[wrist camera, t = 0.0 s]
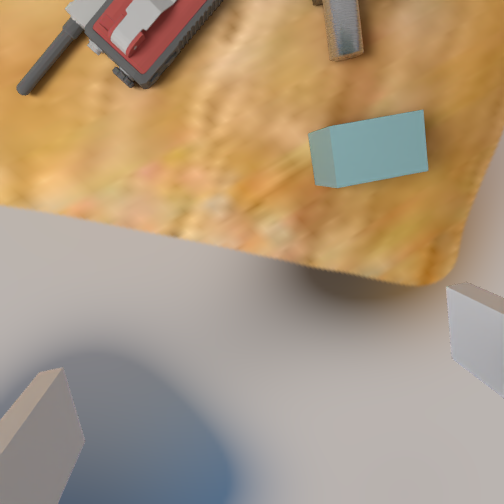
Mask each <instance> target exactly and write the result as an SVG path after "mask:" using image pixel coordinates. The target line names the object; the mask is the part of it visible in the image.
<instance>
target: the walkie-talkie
mask: <svg viewBox="0 0 504 504" xmlns="http://www.w3.org/2000/svg"><path fill="white" fill-rule="evenodd" d="M221 2H223V0H74V1H73V2H70V3H69V4H68V6H67V7H66V8H65V10H66V11H67V12H68V13H69V14H70V15H71V17H70V19H69V20H68V21H67V22H66V23H65V25H64V26H63V30H62V31H61V33H60V34H59V35H58V36H57V38H56V39H55V40H54V41H53V42H52V44H51V45H50V46H49V47H48V48H47V50H46V51H45V52H44V53H43V55H42V56H41V57H40V58H39V59H38V61H37V62H36V63H35V64H34V66H33V67H32V68H31V69H30V70H29V72H28V73H27V74H26V75H25V76H24V78H23V79H22V80H21V81H20V83H19V84H18V85H17V91H18V93H19V94H21V95H25V96H26V95H28V94H29V93H30V92H31V90H32V89H33V88H34V87H35V86H36V84H37V83H38V82H39V81H40V80H41V78H42V77H43V76H44V75H45V73H46V72H47V71H48V70H49V69H50V67H51V66H52V65H53V64H54V63H55V61H56V60H57V59H58V58H59V57H60V55H61V54H62V53H63V52H64V51H65V49H66V48H67V47H68V46H69V44H70V43H71V42H72V41H73V40H74V39H77V38H78V36H79V35H80V34H81V33H82V32H83V30H85V34H86V35H87V36H88V37H89V41H90V42H89V43H88V45H87V46H88V47H89V48H90V49H91V50H92V51H93V52H95V53H96V54H97V55H100V53H101V52H102V53H105V54H106V55H107V56H108V57H109V58H110V59H111V60H112V61H114V62H115V63H116V64H117V65H118V66H119V68H118V67H115V68H114V69H113V73H114V74H115V75H116V76H117V77H119V78H120V79H121V80H122V81H123V82H124V83H125V84H126V85H127V86H128V87H129V88H132V87H133V86H134V83H133V81H135V82H136V83H138V84H139V85H140V86H141V87H142V88H143V89H148V88H150V87H151V86H152V85H153V84H154V83H155V82H156V81H157V79H158V78H159V76H160V75H161V74H162V73H163V72H164V70H165V69H166V68H167V67H169V65H170V64H171V63H172V62H173V61H174V59H175V57H176V56H177V55H178V54H179V53H180V50H181V49H182V48H184V45H185V44H186V43H188V40H189V39H192V36H193V34H196V31H197V30H199V29H200V26H201V25H204V22H205V20H208V17H209V16H211V15H212V12H213V11H215V10H216V7H217V6H220V3H221Z"/></svg>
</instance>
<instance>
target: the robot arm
mask: <svg viewBox="0 0 504 504" xmlns="http://www.w3.org/2000/svg"><path fill="white" fill-rule="evenodd" d="M446 293H447V305H448V318H449V331H450V344H451V355H452V359H453V360H454V361H456V362H457V363H458V364H460V365H461V366H462V367H464V368H465V369H466V370H468V371H469V372H470V373H472V374H473V375H474V376H475V377H477V378H478V379H479V380H480V381H482V382H483V383H484V384H486V385H487V386H488V387H490V388H491V389H493V390H494V391H495V392H496V393H498V394H499V395H500V396H501V397H503V398H504V298H503V297H501V296H498V295H496V294H494V293H491V292H489V291H487V290H484V289H482V288H480V287H477V286H475V285H473V284H470V283H468V282H464V283H460V284H455V285H450V286H446ZM84 443H85V438H84V435H83V432H82V428H81V425H80V422H79V418H78V415H77V412H76V408H75V405H74V402H73V398H72V395H71V392H70V389H69V385H68V382H67V379H66V375H65V372H64V368H63V367H62V368H57V369H52V370H48V371H43V372H39V373H38V374H37V376H36V377H35V378H34V379H33V380H32V382H31V383H30V384H29V385H28V387H27V388H26V389H25V390H24V391H23V393H22V394H21V395H20V396H19V398H18V399H17V400H16V401H15V402H14V404H13V405H12V406H11V407H10V409H9V410H8V411H7V412H6V414H5V415H4V416H3V417H2V418H1V420H0V504H58V502H59V499H60V497H61V495H62V493H63V490H64V488H65V486H66V484H67V481H68V479H69V477H70V474H71V472H72V470H73V468H74V465H75V463H76V461H77V458H78V456H79V454H80V451H81V449H82V447H83V445H84Z"/></svg>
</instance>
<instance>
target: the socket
mask: <svg viewBox="0 0 504 504" xmlns="http://www.w3.org/2000/svg"><path fill="white" fill-rule="evenodd" d="M308 137H309V144H310V151H311V158H312V165H313V172H314V179H315V185H319V186H326V187H333V188H340V187H345V186H351V185H356V184H361V183H367V182H372V181H377V180H382V179H388V178H393V177H398V176H403V175H409V174H414V173H419V172H425V171H428V160H427V149H426V137H425V125H424V113H423V110H418V111H413V112H407V113H402V114H396V115H390V116H385V117H379V118H373V119H368V120H362V121H357V122H351V123H345V124H340V125H334V126H329V127H326V128H323V129H320V130H317V131H314V132H311V133H309V134H308Z"/></svg>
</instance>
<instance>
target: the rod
mask: <svg viewBox="0 0 504 504" xmlns="http://www.w3.org/2000/svg"><path fill="white" fill-rule="evenodd" d="M312 1H313V5H319V4H323V9H324V17H325V25H326V33H327V40H328V48H329V56H330V61H340V60H346V59H350V58H353V57H356V56H359V55H361V54H363V53H364V48H363V39H362V30H361V21H360V12H359V3H358V0H312Z"/></svg>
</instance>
